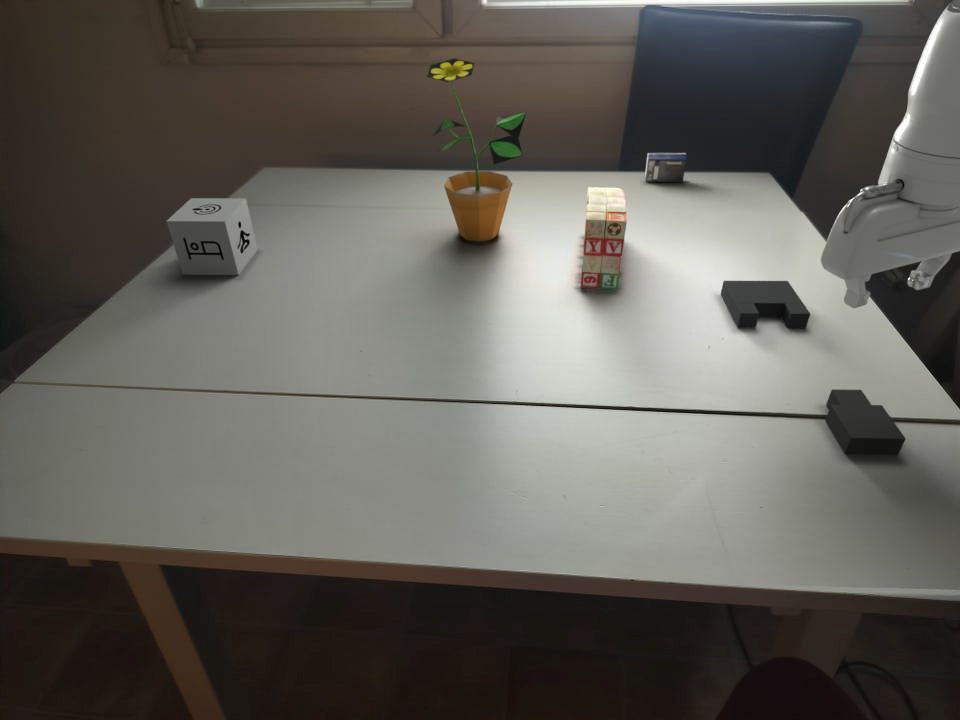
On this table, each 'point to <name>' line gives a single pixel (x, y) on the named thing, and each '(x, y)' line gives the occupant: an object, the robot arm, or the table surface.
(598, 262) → the stack of blocks
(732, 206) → the table surface
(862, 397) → the black tabbed insert block
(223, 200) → the icon cube
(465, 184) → the potted plant
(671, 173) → the mini dv tape
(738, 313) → the base
